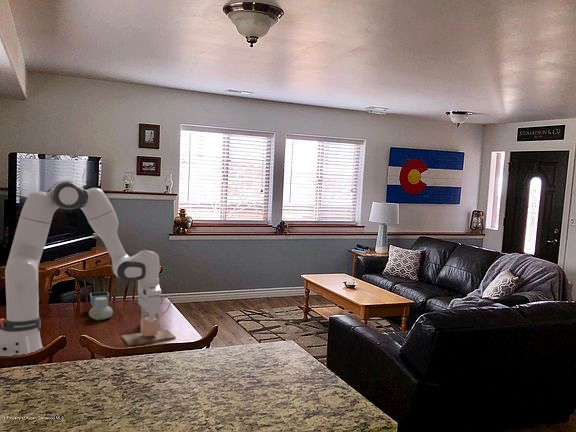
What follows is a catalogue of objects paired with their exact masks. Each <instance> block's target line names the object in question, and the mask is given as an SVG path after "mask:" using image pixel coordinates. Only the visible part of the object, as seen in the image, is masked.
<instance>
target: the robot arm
mask: <svg viewBox="0 0 576 432" xmlns="http://www.w3.org/2000/svg"><path fill="white" fill-rule="evenodd" d="M59 208H60V209H64V210H74V209H80V210H81V211H82V212H83V214H84V216H85V217H86V219H87V222H88V224H89V225H90V227H91V228H92V230H93V231H94V233H95V234H96V235H97V236H98V237H99V238H100V239H101V241H102V242H103V244H104V245H105V248H106V250H107V252H108V254H109V257H110V262H111V272H112V274H113V275H115V277H117V278H118V279H119V280H120V281H121V282H124V283H133V282H137V292H138V293H137V294H138V296H137V297H138V298H137V304H138V305H139V306H140V307H141V306H142V316H143V317H147V312H149V322H150V323H152V322H154V316H155V314H158V315H159V312H160V310H161V309H160V308H161V304H160V303H161V296H162V289H161V287H160V277H159V274H160V266H161V265H160V256H159V254H158V253H157V252H155V251H154V250H153V251H152V250H150V249H149V250H147V249H141V250H140V251H138V253H136V254H133V255H132V256H130V255H129V254H128V253H127V252H126V251H125V249H124V247H123V244H122V242H121V240H120V238H119V234H118V228H119V225H120V224H119V219H118V216H117V214H116V211H115V209H114V207H113V205H112V203H111V201H110V199H109V197H107V195H106V193H105V192H104V191H103V189H101V188H99V187H91V188H88V189H84V188H83V187H81V186H80V185H79V184H78V183H77V182H75V181H72V180H69V179H64V180H59V181H57V182H56V183H54V185H52V187H50V188H49V189H47V191H40V190H39V191H33V192H31V193H29V194H28V196H27V198H26V199H25V202H24V204H23V207H22V209H21V212H20V215H19V218H18V223H17V225H16V229H15V234H14V237H13V240H12V244H11V248H10V251H9V255H8V259H7V262H6V266H5V270H4V277H5V279H4V280H5V299H6V300H5V301H6V304H5V305H6V306H5V307H6V318H0V356H13V355H22V354H28V353H31V352H35V351H37V350H39V349H41V348H43V349H44V347H43V344H42V339H41V332H40V331H41V326H42V325H41V317H40V314H39V313H40V312H39V311H40V310H39V309H40V307H39V306H40V305H39V302H40V301H39V299H40V298H39V296H40V295H39V265H40V261H41V258H42V255H43V252H44V248H45V245H46V243H47V239H48V237H49V236H48V235H49V233H50V228H51V225H52V220H53V217H54V214H55V212H56V211H57V210H58V209H59Z"/></svg>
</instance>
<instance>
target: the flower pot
mask: <svg viewBox="0 0 576 432" xmlns="http://www.w3.org/2000/svg"><path fill="white" fill-rule="evenodd" d="M89 297H90V304H91V309H92V308H93V307H94V299H95V298H98V297H106V298H107V306H109V300H110V293H109V291H97V292H96V291H95V292H89Z"/></svg>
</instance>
